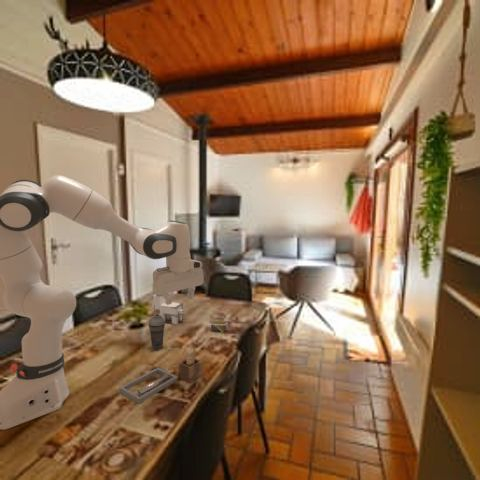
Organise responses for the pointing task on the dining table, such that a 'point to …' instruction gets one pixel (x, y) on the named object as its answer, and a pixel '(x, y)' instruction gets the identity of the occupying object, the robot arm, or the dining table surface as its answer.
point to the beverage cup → (156, 331)
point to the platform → (218, 325)
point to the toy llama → (168, 309)
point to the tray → (140, 399)
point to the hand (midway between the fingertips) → (179, 301)
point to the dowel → (190, 356)
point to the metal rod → (153, 385)
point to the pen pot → (190, 371)
